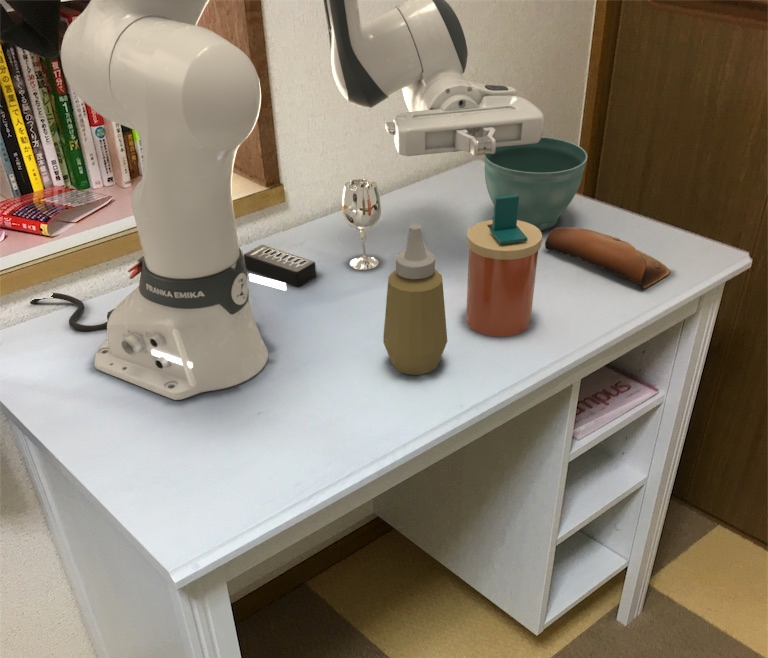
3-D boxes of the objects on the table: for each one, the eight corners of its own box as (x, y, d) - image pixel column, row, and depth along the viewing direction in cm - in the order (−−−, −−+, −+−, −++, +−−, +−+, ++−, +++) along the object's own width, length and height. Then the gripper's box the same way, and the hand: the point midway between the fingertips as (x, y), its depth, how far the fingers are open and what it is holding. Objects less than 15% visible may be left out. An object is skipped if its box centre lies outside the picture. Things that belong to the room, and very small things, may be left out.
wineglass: (375, 274, 122) (372, 194, 114) (340, 269, 124) (334, 190, 116) (388, 257, 126) (386, 179, 118) (353, 253, 128) (349, 175, 120)
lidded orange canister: (540, 331, 109) (549, 253, 102) (477, 340, 108) (481, 262, 100) (517, 300, 115) (524, 225, 108) (457, 309, 114) (460, 233, 107)
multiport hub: (298, 287, 120) (297, 273, 118) (244, 268, 125) (242, 254, 123) (317, 276, 123) (316, 261, 121) (263, 258, 127) (262, 243, 126)
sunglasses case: (675, 269, 120) (670, 238, 114) (646, 305, 119) (640, 276, 114) (577, 232, 130) (568, 203, 124) (550, 266, 129) (540, 238, 124)
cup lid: (552, 254, 101) (553, 245, 101) (480, 263, 100) (480, 254, 99) (525, 224, 108) (526, 215, 107) (458, 232, 107) (458, 223, 106)
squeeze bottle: (441, 384, 101) (445, 244, 88) (377, 378, 102) (372, 240, 90) (451, 349, 106) (455, 214, 94) (390, 344, 108) (387, 210, 95)
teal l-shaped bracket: (527, 241, 101) (530, 205, 98) (499, 244, 100) (502, 209, 97) (516, 227, 104) (519, 193, 101) (489, 231, 103) (491, 196, 100)
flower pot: (584, 206, 139) (594, 139, 131) (570, 246, 127) (579, 176, 120) (491, 197, 143) (495, 132, 135) (469, 235, 131) (472, 166, 124)
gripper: (381, 98, 111) (406, 130, 101) (524, 85, 114) (561, 115, 104) (382, 146, 115) (406, 181, 105) (519, 132, 118) (555, 165, 108)
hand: (485, 148), depth 105 cm, fingers closed
